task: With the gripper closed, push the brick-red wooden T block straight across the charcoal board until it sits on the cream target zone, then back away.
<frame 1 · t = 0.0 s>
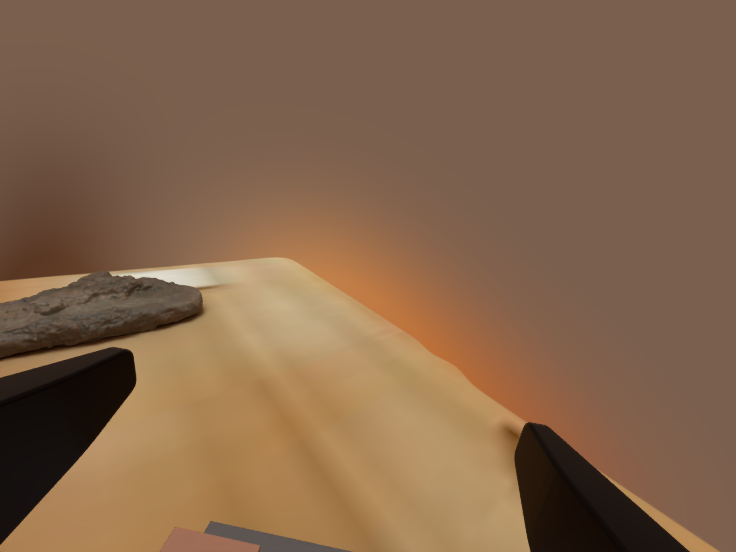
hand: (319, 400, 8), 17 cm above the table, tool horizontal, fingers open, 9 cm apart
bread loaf: (16, 341, 35), on the table
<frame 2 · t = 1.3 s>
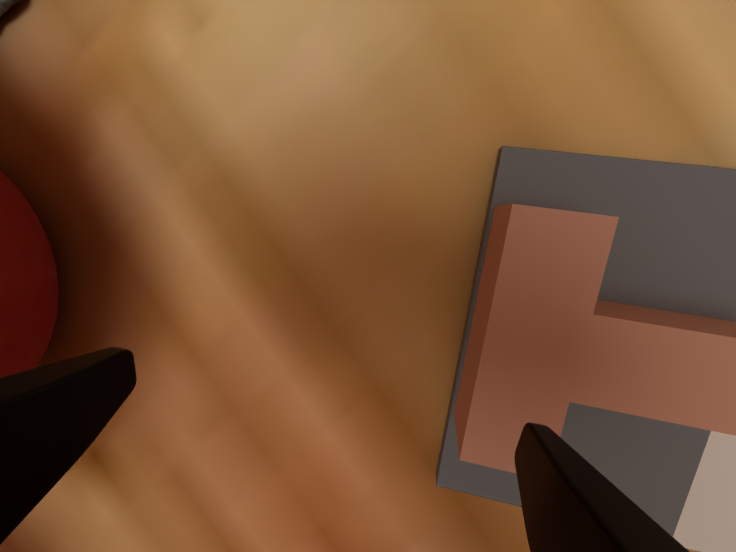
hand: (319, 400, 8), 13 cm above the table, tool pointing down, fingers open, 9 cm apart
t block: (589, 336, 18), point 1 cm above the table, touching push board
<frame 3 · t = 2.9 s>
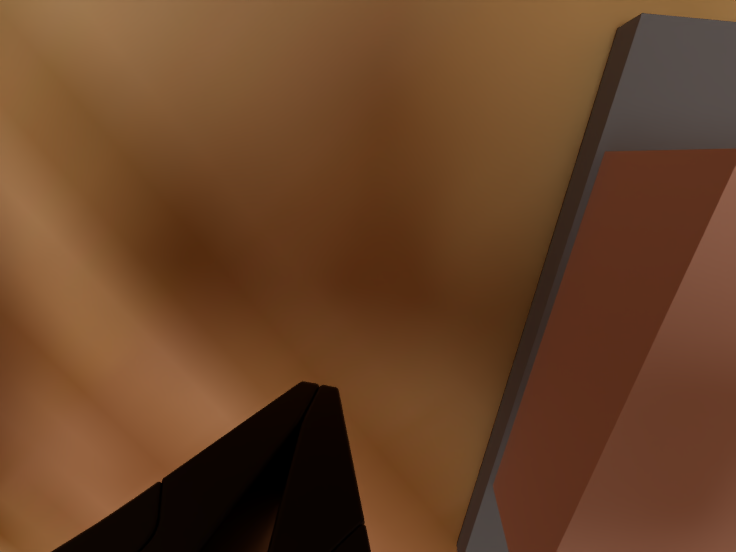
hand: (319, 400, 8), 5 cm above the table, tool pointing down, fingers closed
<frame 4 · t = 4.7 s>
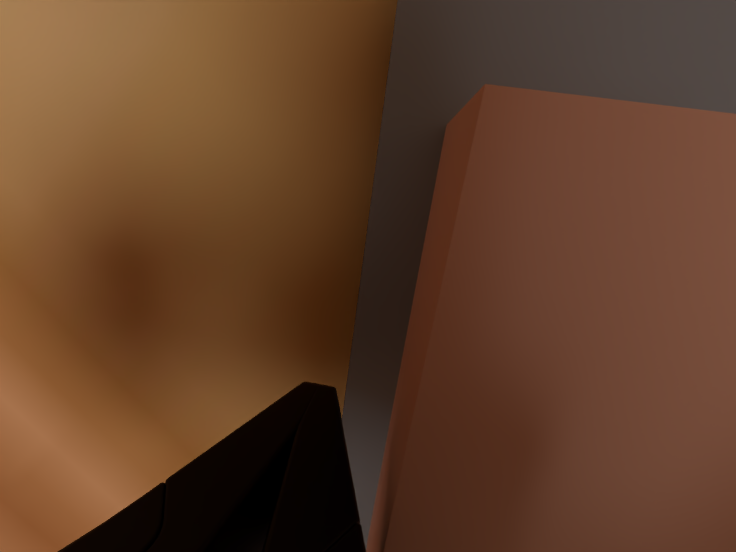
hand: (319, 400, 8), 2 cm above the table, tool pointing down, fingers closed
t block: (645, 427, 8), point 1 cm above the table, touching gripper, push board
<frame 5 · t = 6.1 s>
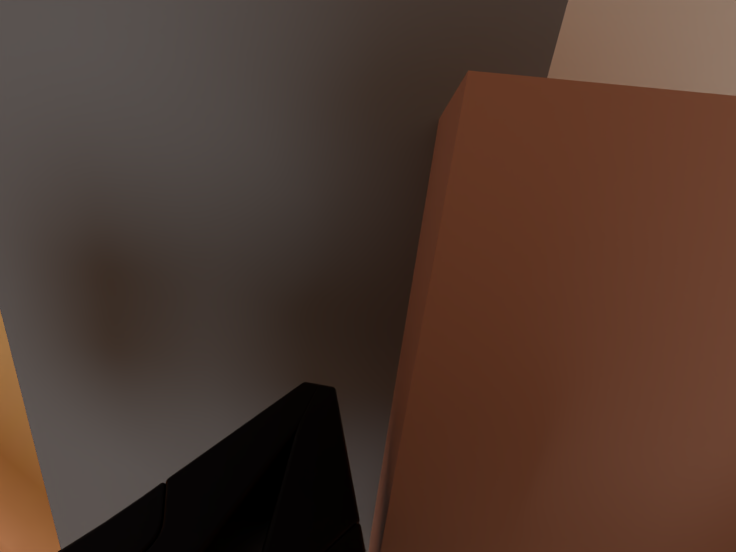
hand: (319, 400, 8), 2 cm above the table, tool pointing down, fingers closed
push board: (500, 410, 10), on the table
t block: (644, 416, 8), point 1 cm above the table, touching gripper, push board
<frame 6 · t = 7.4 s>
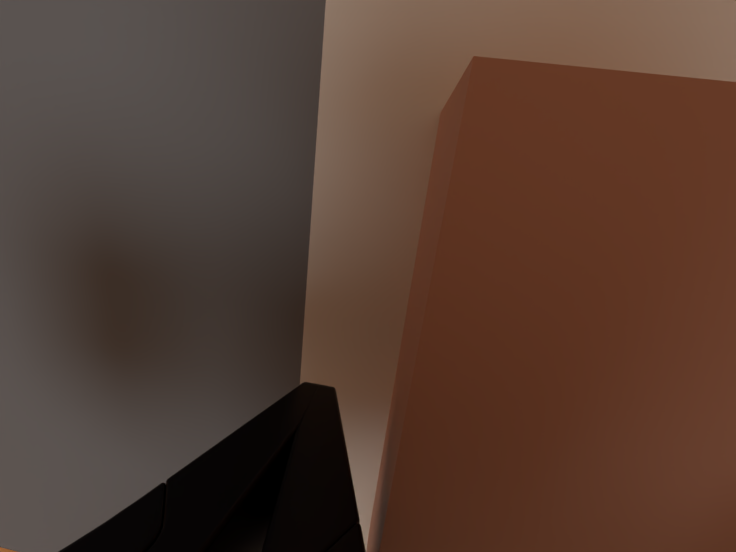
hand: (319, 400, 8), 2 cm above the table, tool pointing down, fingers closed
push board: (358, 382, 10), on the table
t block: (644, 414, 8), point 1 cm above the table, touching gripper, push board
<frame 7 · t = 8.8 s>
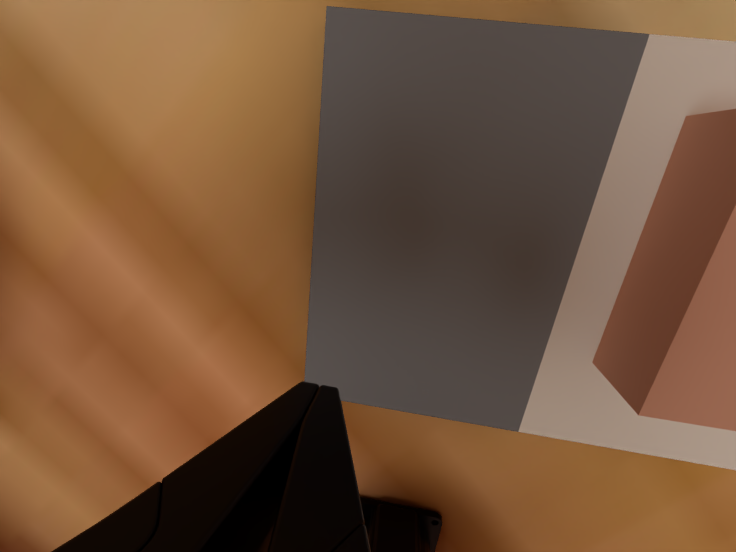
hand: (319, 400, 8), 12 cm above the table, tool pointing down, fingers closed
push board: (592, 270, 18), on the table
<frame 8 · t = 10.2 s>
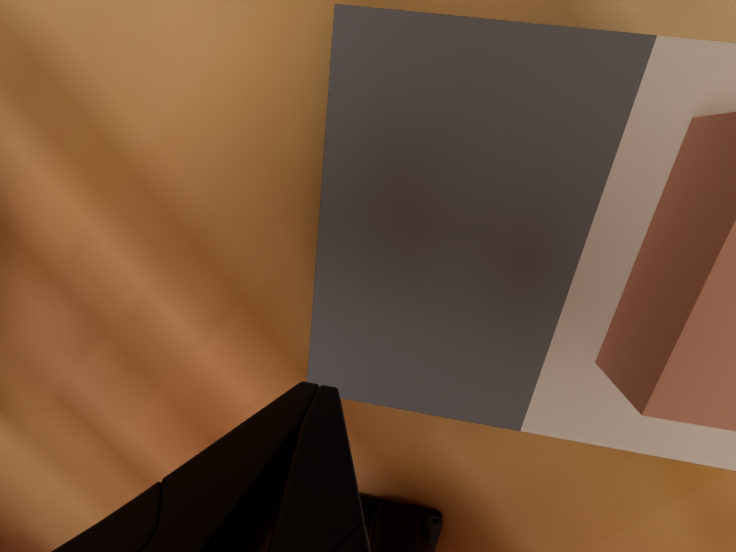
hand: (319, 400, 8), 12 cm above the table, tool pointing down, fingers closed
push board: (596, 271, 18), on the table
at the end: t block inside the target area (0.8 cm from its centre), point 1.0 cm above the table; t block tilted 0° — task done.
